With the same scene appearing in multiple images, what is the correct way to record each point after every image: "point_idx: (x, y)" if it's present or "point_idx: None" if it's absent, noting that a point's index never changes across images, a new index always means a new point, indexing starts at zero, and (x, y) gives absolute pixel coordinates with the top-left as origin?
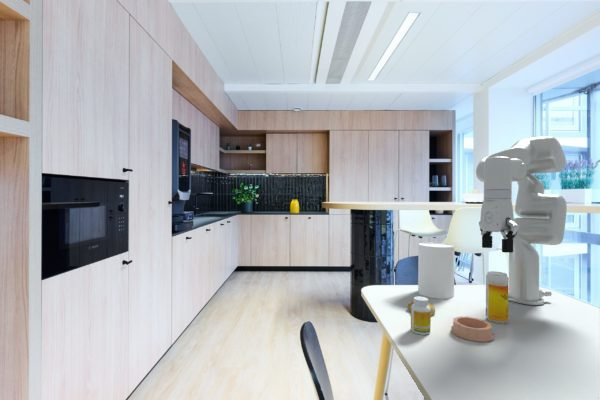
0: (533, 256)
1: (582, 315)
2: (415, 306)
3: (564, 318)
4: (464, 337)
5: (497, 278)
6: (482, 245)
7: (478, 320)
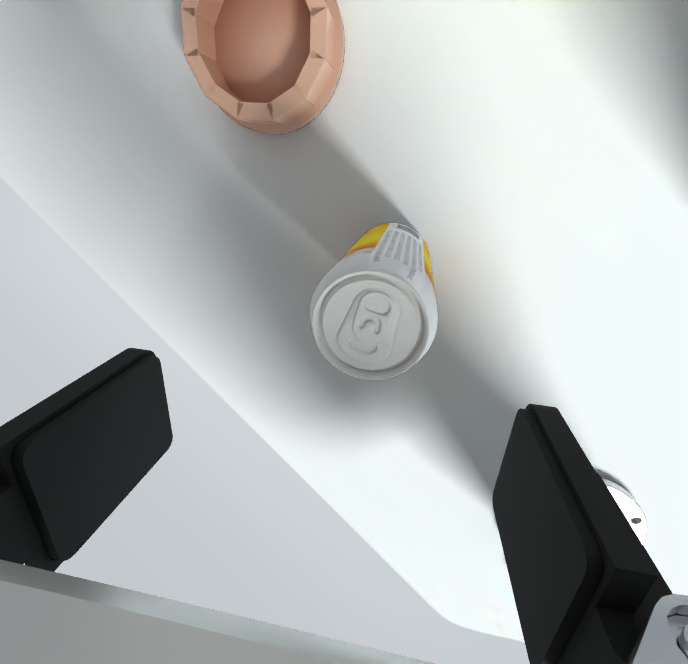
0: None
1: (395, 542)
2: None
3: (380, 481)
4: None
5: (319, 282)
6: (549, 418)
7: (285, 93)
